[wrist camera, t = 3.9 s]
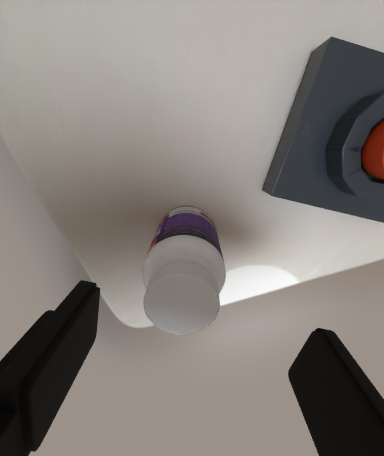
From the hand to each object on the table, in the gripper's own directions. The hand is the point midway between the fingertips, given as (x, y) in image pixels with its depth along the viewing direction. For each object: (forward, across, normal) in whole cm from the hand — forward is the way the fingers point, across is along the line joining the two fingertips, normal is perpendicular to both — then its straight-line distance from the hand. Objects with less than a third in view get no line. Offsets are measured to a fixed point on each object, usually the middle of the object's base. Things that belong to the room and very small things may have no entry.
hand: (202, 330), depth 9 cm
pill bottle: (+12, +1, 0) cm, 12 cm away
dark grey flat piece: (+12, -10, -10) cm, 19 cm away
